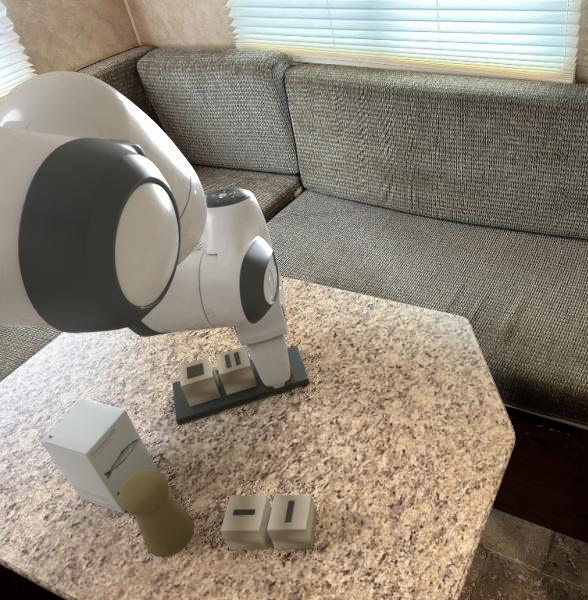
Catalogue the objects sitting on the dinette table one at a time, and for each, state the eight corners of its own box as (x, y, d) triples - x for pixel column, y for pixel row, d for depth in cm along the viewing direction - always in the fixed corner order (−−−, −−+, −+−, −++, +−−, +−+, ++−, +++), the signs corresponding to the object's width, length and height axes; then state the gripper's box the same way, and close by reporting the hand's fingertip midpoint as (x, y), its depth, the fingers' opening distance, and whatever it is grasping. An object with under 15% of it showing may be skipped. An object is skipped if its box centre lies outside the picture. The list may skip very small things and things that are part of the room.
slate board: (298, 350, 99) (297, 345, 99) (310, 383, 93) (308, 378, 93) (174, 387, 95) (172, 382, 94) (178, 425, 89) (175, 419, 88)
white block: (317, 514, 76) (311, 493, 73) (312, 549, 72) (305, 528, 70) (281, 514, 76) (274, 494, 73) (274, 549, 73) (266, 529, 70)
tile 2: (252, 366, 96) (245, 345, 93) (257, 386, 92) (250, 365, 89) (223, 375, 95) (215, 354, 92) (227, 395, 91) (218, 374, 88)
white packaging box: (124, 515, 78) (84, 455, 70) (80, 499, 80) (36, 440, 72) (160, 469, 83) (126, 408, 75) (118, 455, 86) (81, 395, 78)
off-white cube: (274, 515, 76) (266, 494, 74) (267, 549, 73) (258, 529, 70) (239, 515, 77) (229, 495, 74) (230, 550, 73) (220, 530, 70)
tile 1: (217, 376, 94) (209, 355, 92) (220, 397, 91) (212, 376, 88) (187, 385, 94) (178, 364, 91) (189, 406, 90) (180, 385, 87)
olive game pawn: (155, 512, 78) (124, 460, 71) (201, 511, 78) (174, 459, 71) (138, 557, 73) (103, 507, 66) (187, 556, 73) (156, 506, 66)
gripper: (220, 260, 92) (242, 328, 101) (240, 345, 77) (264, 416, 86) (261, 250, 93) (279, 317, 102) (288, 331, 78) (307, 402, 87)
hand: (273, 363), depth 94 cm, fingers open, 8 cm apart
